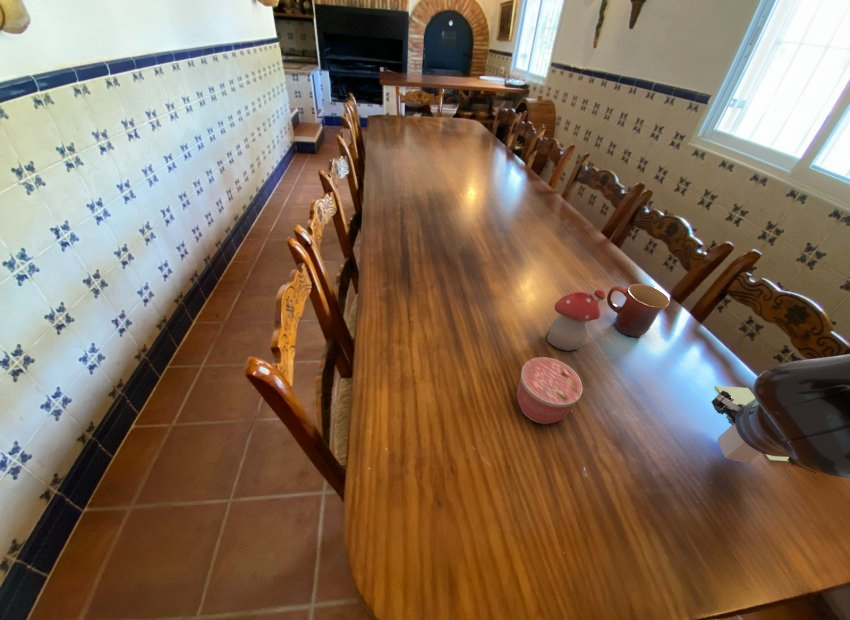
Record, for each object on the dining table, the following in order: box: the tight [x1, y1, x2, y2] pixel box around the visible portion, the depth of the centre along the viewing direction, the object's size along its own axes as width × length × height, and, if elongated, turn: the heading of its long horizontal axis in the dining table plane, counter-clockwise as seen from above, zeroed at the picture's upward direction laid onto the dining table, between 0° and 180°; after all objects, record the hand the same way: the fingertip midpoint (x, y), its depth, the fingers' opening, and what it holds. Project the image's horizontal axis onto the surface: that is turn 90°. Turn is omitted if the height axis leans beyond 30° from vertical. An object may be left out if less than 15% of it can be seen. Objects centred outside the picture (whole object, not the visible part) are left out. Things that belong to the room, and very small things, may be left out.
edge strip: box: [714, 385, 790, 463], centre depth 68 cm, size 16×7×1 cm, turn 179°
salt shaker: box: [716, 425, 763, 464], centre depth 59 cm, size 4×4×10 cm
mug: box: [606, 283, 671, 338], centre depth 84 cm, size 12×9×10 cm
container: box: [516, 356, 583, 425], centre depth 65 cm, size 10×10×8 cm
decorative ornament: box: [545, 289, 607, 352], centre depth 76 cm, size 9×7×15 cm
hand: (753, 431), depth 60 cm, fingers closed on salt shaker, 5 cm apart
